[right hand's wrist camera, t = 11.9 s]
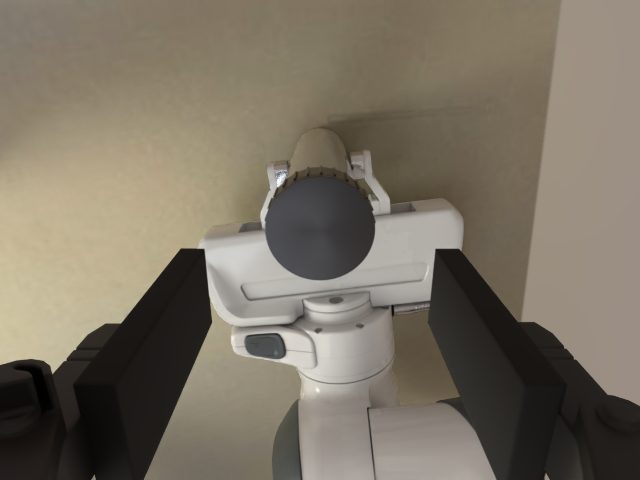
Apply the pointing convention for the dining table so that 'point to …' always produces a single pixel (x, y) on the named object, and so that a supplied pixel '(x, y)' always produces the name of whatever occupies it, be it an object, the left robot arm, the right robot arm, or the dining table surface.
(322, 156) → the grey cylindrical container
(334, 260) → the lid
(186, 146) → the dining table surface
